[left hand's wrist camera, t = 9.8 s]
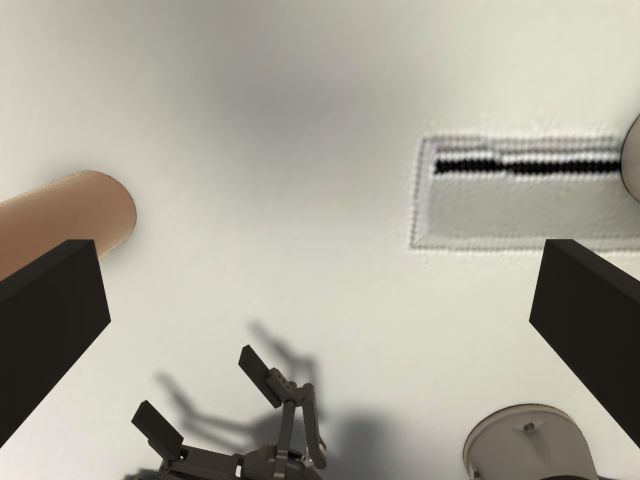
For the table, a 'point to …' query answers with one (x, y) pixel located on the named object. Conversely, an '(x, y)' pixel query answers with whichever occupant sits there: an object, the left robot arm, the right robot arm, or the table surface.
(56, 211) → the bottle
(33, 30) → the table surface
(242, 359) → the right robot arm
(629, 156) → the bust sculpture
